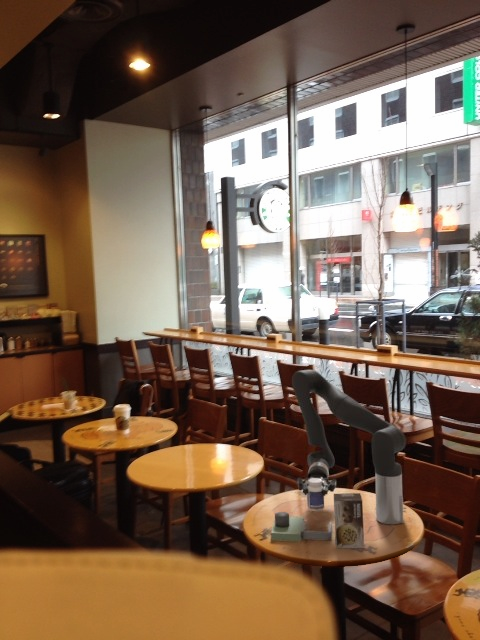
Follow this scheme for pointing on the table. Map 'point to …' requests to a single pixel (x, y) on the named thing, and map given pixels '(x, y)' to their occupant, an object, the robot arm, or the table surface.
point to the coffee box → (348, 520)
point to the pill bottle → (315, 494)
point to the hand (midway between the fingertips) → (314, 492)
